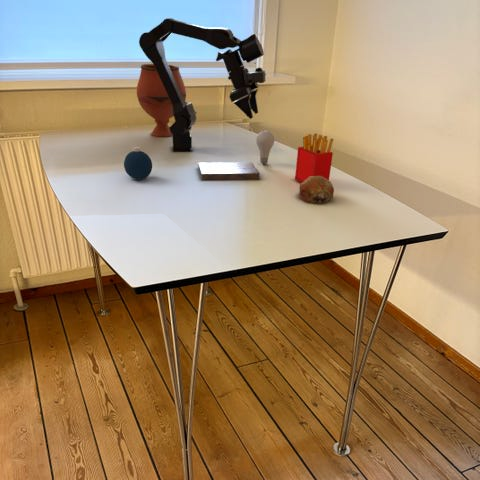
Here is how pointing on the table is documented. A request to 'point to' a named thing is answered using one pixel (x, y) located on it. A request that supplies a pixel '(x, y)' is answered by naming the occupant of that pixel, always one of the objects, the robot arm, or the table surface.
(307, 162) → the french fries container
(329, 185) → the bread roll
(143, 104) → the goblet
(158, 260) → the table surface
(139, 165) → the christmas ornament
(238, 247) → the table surface
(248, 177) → the walnut board
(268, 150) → the lightbulb
